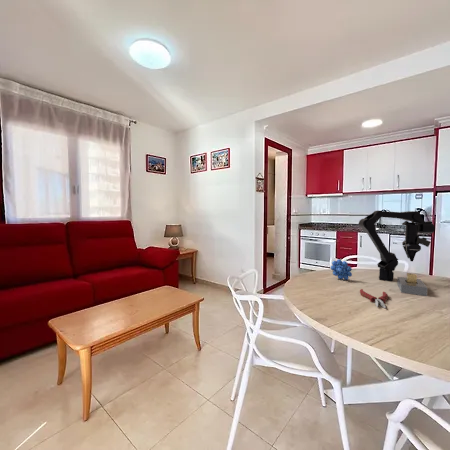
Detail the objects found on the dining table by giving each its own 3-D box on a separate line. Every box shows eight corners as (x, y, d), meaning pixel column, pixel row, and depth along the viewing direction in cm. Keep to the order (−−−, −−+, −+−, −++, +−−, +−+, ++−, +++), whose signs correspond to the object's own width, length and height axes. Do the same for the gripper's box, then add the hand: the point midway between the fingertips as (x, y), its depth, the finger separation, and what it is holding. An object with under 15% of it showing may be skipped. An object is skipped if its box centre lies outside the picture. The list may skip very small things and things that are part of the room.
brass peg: (407, 289, 124) (407, 274, 123) (406, 287, 127) (406, 273, 126) (416, 291, 122) (416, 275, 121) (414, 289, 125) (415, 273, 125)
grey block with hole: (401, 292, 120) (401, 284, 120) (397, 283, 134) (397, 276, 134) (426, 296, 115) (427, 287, 115) (420, 286, 129) (420, 279, 129)
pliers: (365, 308, 102) (366, 302, 102) (358, 293, 121) (359, 287, 121) (398, 312, 98) (398, 306, 98) (385, 296, 117) (386, 291, 116)
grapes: (328, 279, 142) (329, 259, 141) (331, 277, 148) (331, 257, 147) (350, 283, 136) (351, 262, 135) (352, 280, 141) (353, 259, 140)
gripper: (433, 235, 127) (432, 264, 128) (425, 232, 143) (424, 258, 144) (407, 234, 132) (406, 262, 133) (402, 231, 148) (401, 256, 149)
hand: (410, 259), depth 140 cm, fingers open, 9 cm apart
